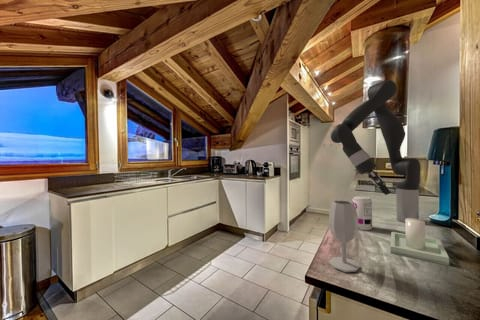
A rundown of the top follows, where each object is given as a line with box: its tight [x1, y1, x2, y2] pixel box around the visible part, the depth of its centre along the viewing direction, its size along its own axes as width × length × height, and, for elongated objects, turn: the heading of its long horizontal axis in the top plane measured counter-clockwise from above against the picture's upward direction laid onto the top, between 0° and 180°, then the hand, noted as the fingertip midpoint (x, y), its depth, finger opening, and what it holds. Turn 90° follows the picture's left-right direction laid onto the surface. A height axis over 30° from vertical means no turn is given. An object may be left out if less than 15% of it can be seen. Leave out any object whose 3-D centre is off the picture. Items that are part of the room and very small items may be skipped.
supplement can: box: [351, 195, 373, 231], centre depth 99 cm, size 8×8×15 cm
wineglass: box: [328, 199, 361, 273], centre depth 66 cm, size 9×9×21 cm
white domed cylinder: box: [404, 218, 426, 250], centre depth 76 cm, size 6×6×10 cm
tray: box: [390, 231, 450, 267], centre depth 76 cm, size 17×15×2 cm
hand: (387, 193), depth 86 cm, fingers open, 8 cm apart
